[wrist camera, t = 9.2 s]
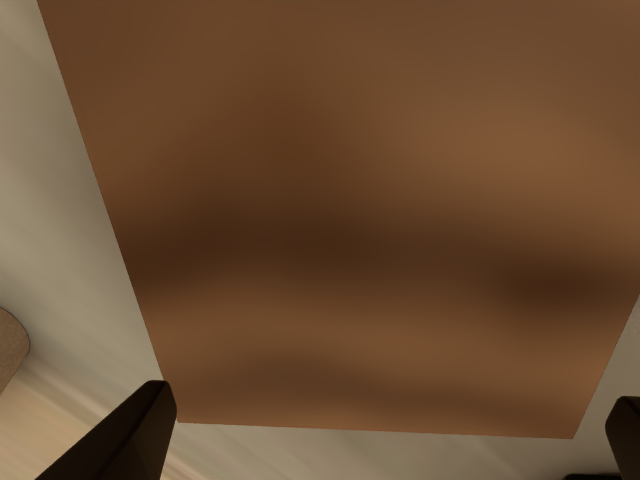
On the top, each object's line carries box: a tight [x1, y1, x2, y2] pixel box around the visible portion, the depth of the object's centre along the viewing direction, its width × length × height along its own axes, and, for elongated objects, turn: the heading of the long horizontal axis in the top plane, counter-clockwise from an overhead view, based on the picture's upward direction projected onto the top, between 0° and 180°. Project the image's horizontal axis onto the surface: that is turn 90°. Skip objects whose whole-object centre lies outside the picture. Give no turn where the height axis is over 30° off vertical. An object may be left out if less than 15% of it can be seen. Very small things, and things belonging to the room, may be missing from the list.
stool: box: [37, 0, 640, 439], centre depth 15 cm, size 16×16×5 cm
